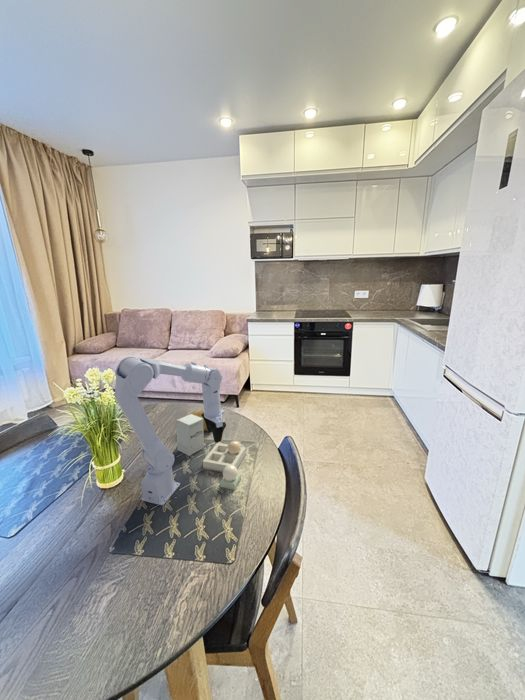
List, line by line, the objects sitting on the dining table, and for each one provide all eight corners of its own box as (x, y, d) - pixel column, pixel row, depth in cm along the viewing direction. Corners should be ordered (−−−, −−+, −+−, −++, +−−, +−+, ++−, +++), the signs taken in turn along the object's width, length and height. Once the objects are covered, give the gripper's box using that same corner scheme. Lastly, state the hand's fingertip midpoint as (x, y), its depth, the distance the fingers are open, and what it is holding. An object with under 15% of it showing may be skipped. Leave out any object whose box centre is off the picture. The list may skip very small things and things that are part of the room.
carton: (233, 474, 101) (233, 466, 100) (203, 468, 104) (202, 461, 103) (246, 454, 111) (245, 447, 110) (217, 449, 115) (217, 442, 114)
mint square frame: (235, 489, 94) (234, 484, 93) (220, 486, 95) (220, 481, 94) (240, 479, 98) (240, 474, 98) (227, 476, 100) (226, 471, 99)
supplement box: (189, 456, 110) (188, 425, 107) (176, 450, 114) (175, 419, 112) (204, 448, 116) (203, 418, 113) (192, 442, 120) (191, 413, 118)
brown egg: (238, 458, 106) (237, 446, 105) (225, 456, 107) (224, 444, 106) (243, 450, 110) (242, 439, 109) (231, 448, 112) (230, 437, 110)
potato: (189, 423, 135) (188, 407, 133) (220, 423, 134) (219, 407, 132) (183, 435, 125) (181, 418, 123) (216, 435, 125) (215, 418, 123)
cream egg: (234, 485, 93) (233, 472, 92) (220, 482, 95) (219, 469, 93) (240, 475, 98) (239, 463, 96) (226, 473, 99) (226, 460, 98)
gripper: (230, 406, 97) (232, 443, 101) (216, 391, 110) (218, 424, 113) (209, 411, 94) (212, 449, 98) (197, 395, 107) (200, 429, 110)
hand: (214, 436), depth 106 cm, fingers open, 7 cm apart
